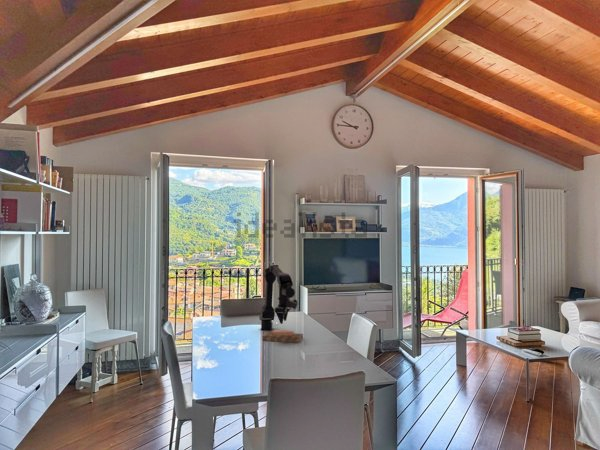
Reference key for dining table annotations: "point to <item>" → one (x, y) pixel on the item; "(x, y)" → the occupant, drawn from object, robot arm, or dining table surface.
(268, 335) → the brown slotted board
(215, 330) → the dining table surface
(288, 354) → the dining table surface
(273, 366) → the dining table surface
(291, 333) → the tall terracotta pillar
